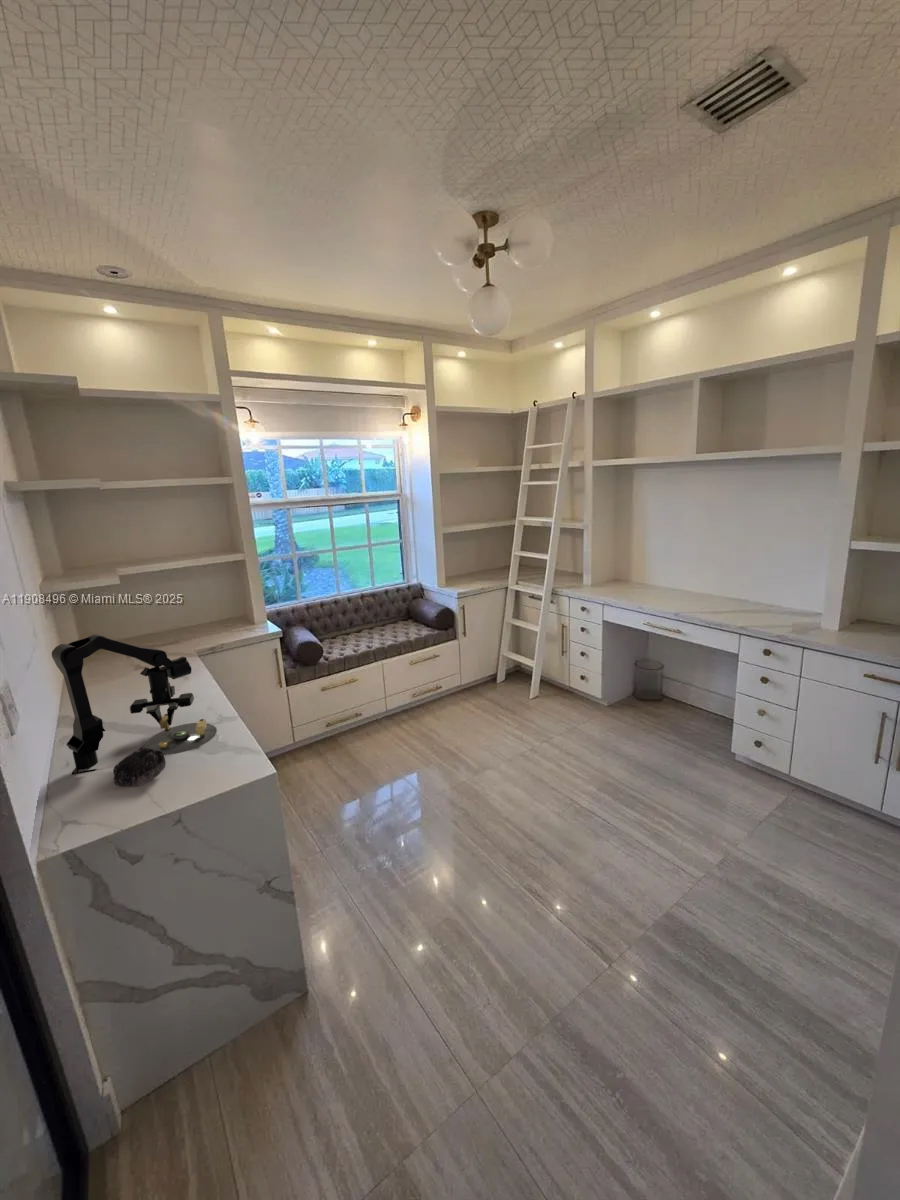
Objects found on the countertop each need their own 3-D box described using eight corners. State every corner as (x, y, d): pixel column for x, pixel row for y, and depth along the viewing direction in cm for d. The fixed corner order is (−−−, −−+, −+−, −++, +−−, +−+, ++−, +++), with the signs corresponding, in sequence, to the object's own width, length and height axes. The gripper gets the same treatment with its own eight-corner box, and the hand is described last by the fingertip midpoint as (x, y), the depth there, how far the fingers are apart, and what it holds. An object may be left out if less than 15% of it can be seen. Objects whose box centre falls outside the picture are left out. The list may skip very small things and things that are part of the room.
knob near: (204, 739, 169) (202, 725, 168) (197, 740, 168) (195, 726, 167) (207, 732, 174) (205, 718, 173) (200, 733, 174) (198, 719, 172)
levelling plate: (211, 751, 164) (210, 742, 163) (135, 763, 159) (134, 753, 158) (221, 721, 185) (220, 713, 184) (155, 731, 179) (154, 723, 179)
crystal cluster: (110, 778, 152) (101, 751, 149) (158, 757, 161) (151, 730, 158) (122, 799, 143) (113, 771, 140) (173, 775, 152) (165, 748, 149)
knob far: (168, 733, 174) (166, 719, 173) (161, 734, 174) (159, 720, 172) (172, 726, 179) (170, 713, 178) (166, 727, 179) (163, 714, 178)
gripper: (193, 672, 182) (200, 711, 186) (136, 679, 178) (143, 719, 181) (187, 683, 172) (193, 725, 175) (125, 691, 167) (133, 733, 171)
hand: (166, 725), depth 176 cm, fingers closed on knob far, 2 cm apart
